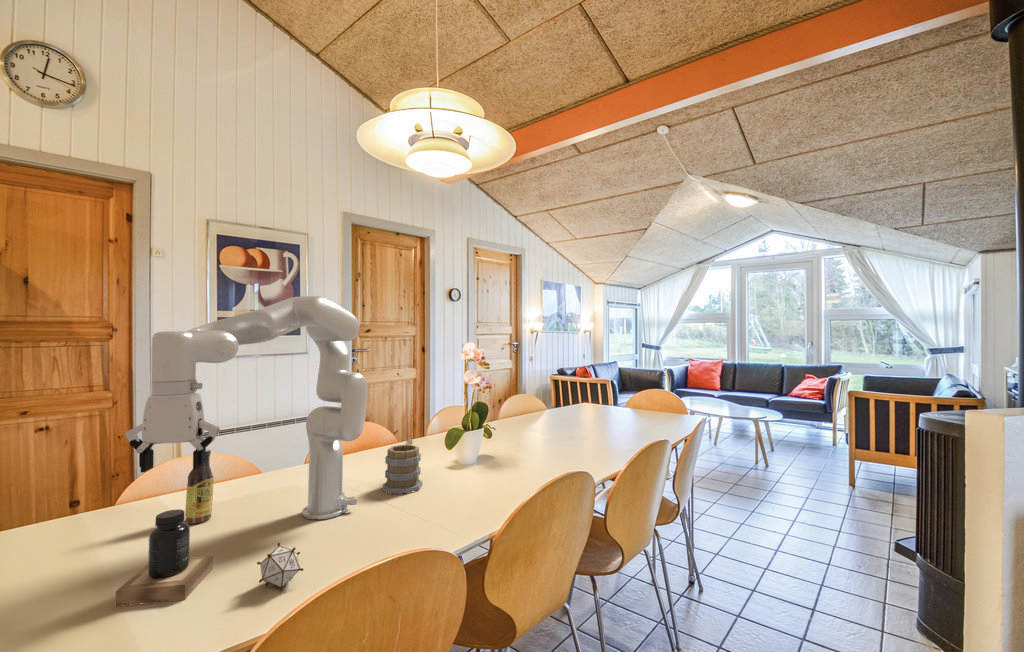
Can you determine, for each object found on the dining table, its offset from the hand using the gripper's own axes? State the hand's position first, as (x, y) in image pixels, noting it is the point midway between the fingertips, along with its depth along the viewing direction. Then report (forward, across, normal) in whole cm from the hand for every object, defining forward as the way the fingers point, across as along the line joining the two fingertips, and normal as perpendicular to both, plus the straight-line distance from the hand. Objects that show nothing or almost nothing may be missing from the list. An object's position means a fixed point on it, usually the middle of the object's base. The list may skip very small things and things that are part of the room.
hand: (173, 468), depth 94 cm
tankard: (+26, -47, -56) cm, 78 cm away
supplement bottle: (+22, 0, 0) cm, 22 cm away
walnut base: (+24, 0, +1) cm, 25 cm away
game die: (+25, -23, +5) cm, 34 cm away
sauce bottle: (+25, +10, -35) cm, 45 cm away
